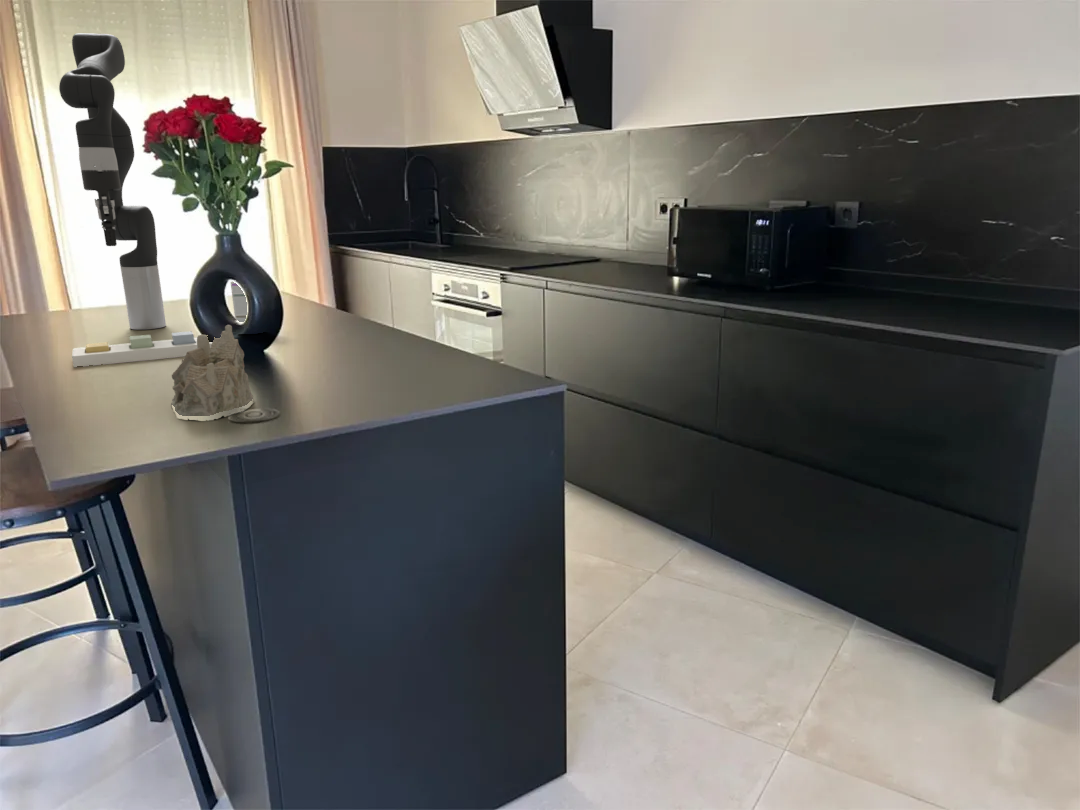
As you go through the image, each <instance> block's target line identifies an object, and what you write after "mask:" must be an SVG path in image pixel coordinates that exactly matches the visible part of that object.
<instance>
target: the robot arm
mask: <svg viewBox="0 0 1080 810" xmlns="http://www.w3.org/2000/svg"><path fill="white" fill-rule="evenodd" d="M71 45H72V46H71V47H72V53H73V57H74V62H75V65H76V68H74V69H71V70H69V71H67V72H65V73H64V74H63V75H62V77H61V78H60V81H59V85H58V86H59V87H58V89H59V94H60V97H61V99H62V101H63V102H65V104H66V105H67V106H69V107H71V108H74V109H86V111H87V115H88V118H85V119H80V120H78V121H76V123H75V132H76V139H77V145H78V161H79V166H80V172H81V179H82V185H83V189H84V190H85V191H95V192H97V195H98V198H94V204H95V207H96V208H97V214H98V215H97V216H98V219H99V220H100V221H101V228H102V230H103V233H104V239H105V246H106V247H116V246H117V241H125V242H126V241H136V247H135V248H134V249H133V250H131V251H129V252H126V253H124V254H121V255H120V256H119V265H120V272H121V277H122V278H121V279H122V284H123V285H122V286H123V291H124V292H123V293H124V299H125V304H126V312H127V318H128V323H129V329H132V330H138V331H139V330H142V331H143V330H154V329H161V328H164V327H166V326H167V323H166V322H167V321H166V315H165V308H164V307H165V306H164V300H163V292H162V287H161V280H160V279H161V278H160V272H159V271H160V270H159V266H158V247H157V238H156V237H157V236H156V223H155V218H154V215H153V213H152V210H151V209H150V208H149V207H148V206H145V205H124V202H123V186H124V183H125V180H126V177H127V176H128V174H129V172H130V169H131V167H132V164H133V162H134V159H135V148H134V142H133V141H134V140H133V137H132V133H131V129H130V127H129V125H128V123H127V122H126V120H125V119H124V118H123V116H121V114H119V112H118V111H117V110H116V109H115V108H114V104H115V103H114V102H115V96H116V95H115V88H114V85H113V83H112V80H113V79H114V78H116V77H117V76H119V74H122V72H124V70H125V65H126V59H125V52H124V48H123V45H122V42H121V41H120V39H119V38H118V37H117V36H115V35H113V34H110V33H109V34H108V33H84V32H82V33H75V34H73V35H72V39H71Z"/></svg>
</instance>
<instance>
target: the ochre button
mask: <svg viewBox="0 0 1080 810" xmlns="http://www.w3.org/2000/svg"><path fill="white" fill-rule="evenodd" d="M108 345H109V341H105V342H95V343H94V342H93V343H86V344H85V347H86V352H87V353H92V352H103V351H109V346H108Z"/></svg>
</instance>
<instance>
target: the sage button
mask: <svg viewBox="0 0 1080 810" xmlns="http://www.w3.org/2000/svg"><path fill="white" fill-rule="evenodd" d="M129 341H130V342H129V343H131V349H136V348H147V347H153V346H152V341H153V339H152V336H151V334H144V335H142V334H139V335H132V336H131V335H130V336H129Z"/></svg>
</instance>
